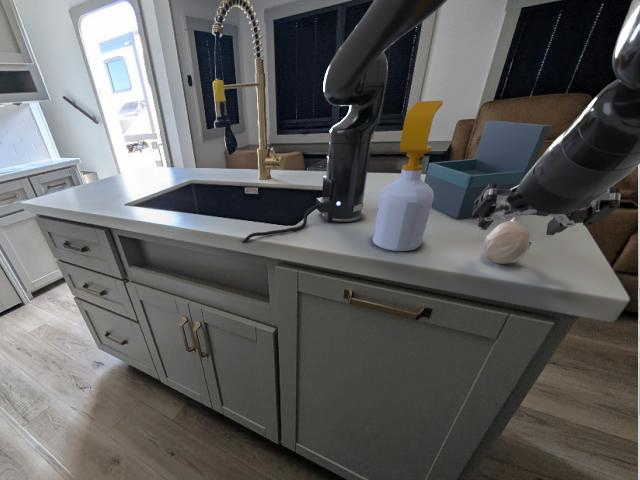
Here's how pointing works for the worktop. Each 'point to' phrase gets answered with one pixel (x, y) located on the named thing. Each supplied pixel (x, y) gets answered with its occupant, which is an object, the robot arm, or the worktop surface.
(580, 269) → the worktop surface
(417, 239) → the soap bottle
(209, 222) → the worktop surface
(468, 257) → the worktop surface
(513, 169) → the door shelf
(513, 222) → the garlic bulb
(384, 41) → the robot arm
